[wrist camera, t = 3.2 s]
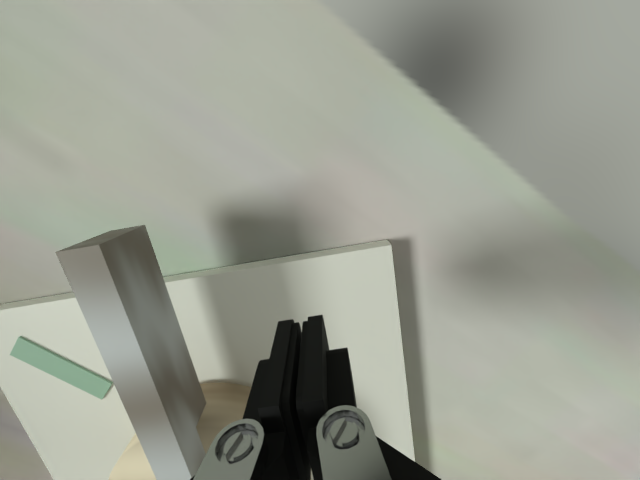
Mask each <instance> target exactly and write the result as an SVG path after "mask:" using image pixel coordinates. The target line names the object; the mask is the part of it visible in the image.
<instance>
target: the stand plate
mask: <svg viewBox="0 0 640 480" xmlns="http://www.w3.org/2000/svg"><path fill="white" fill-rule="evenodd" d="M163 279H164V282H165V285H166V288H167V290H168V293H169V296H170V299H171V302H172V305H173V308H174V311H175V314H176V317H177V319H178V322H179V325H180V328H181V331H182V334H183V337H184V340H185V343H186V345H187V348H188V351H189V354H190V357H191V360H192V363H193V366H194V369H195V371H196V374H197V377H198V380H199V383H200V384H205V383H232V384H240V385H244V386H248V387H252V383H253V380H254V376H255V373H256V369H257V366H258V363H259V361H260V360H264V359H269V358H270V354H271V349H272V345H273V341H274V337H275V333H276V328H277V324H278V321H284V320H290V319H293V320H294V323H296V322H299V323H300V327H301V332H302V325H303V321H308V317H310V316H317V315H323V319H324V324H325V329H326V335H327V340H328V345H329V350H333V349H340V348H348V353H349V359H350V365H351V371H352V377H353V384H354V391H355V398H356V405H357V408H359V409H361V410H362V411H363V412H364V413H365V414H367V416H368V418H369V420H370V422H371V424H372V427H373V430H374V433H375V435H376V436H377V437H378V438H380V439H381V440H383V441H384V442H386V443H387V444H389V445H390V446H392V447H393V448H395V449H396V450H398V451H399V452H401V453H402V454H404V455H405V456H407V457H408V458H410V459H411V460H413V461H414V462H415V456H414V447H413V438H412V428H411V419H410V410H409V401H408V392H407V383H406V374H405V364H404V355H403V346H402V337H401V328H400V319H399V310H398V300H397V291H396V282H395V273H394V264H393V255H392V246H391V244H390V243H389V241H388V240H382V241H376V242H370V243H364V244H358V245H352V246H346V247H340V248H334V249H328V250H322V251H316V252H310V253H304V254H298V255H292V256H286V257H280V258H274V259H268V260H262V261H256V262H250V263H244V264H238V265H232V266H226V267H220V268H214V269H208V270H202V271H196V272H190V273H184V274H178V275H172V276H166V277H163ZM0 387H1V389H2V391H3V393H4V394H5V396H6V398H7V400H8V401H9V403H10V405H11V407H12V408H13V410H14V412H15V413H16V415H17V417H18V419H19V420H20V422H21V424H22V426H23V427H24V429H25V431H26V433H27V434H28V436H29V438H30V439H31V441H32V443H33V445H34V446H35V448H36V450H37V452H38V453H39V455H40V457H41V459H42V460H43V462H44V464H45V465H46V467H47V469H48V471H49V472H50V474H51V476H52V478H53V479H54V480H108V479H109V476H110V474H111V471H112V470H113V468H114V466H115V464H116V463H117V461H118V460H119V458H120V456H121V455H122V453H123V452H124V450H125V449H126V447H127V445H128V444H129V442H130V441H131V439H132V438H133V436H134V434H135V433H136V432H135V430H134V428H133V426H132V423H131V421H130V419H129V417H128V414H127V412H126V410H125V408H124V405H123V403H122V401H121V399H120V396H119V394H118V392H117V390H116V387H115V385H114V383H113V381H112V378H111V376H110V374H109V372H108V369H107V367H106V365H105V363H104V360H103V358H102V356H101V354H100V351H99V349H98V347H97V345H96V342H95V340H94V338H93V335H92V333H91V331H90V329H89V326H88V324H87V322H86V320H85V317H84V315H83V313H82V311H81V308H80V306H79V304H78V302H77V299H76V297H75V295H74V293H73V292H71V293H65V294H59V295H53V296H47V297H41V298H35V299H29V300H23V301H17V302H11V303H5V304H0ZM311 480H314V478H313V474H312V470H311Z"/></svg>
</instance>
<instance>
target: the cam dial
mask: <svg viewBox="0 0 640 480" xmlns="http://www.w3.org/2000/svg"><path fill="white" fill-rule="evenodd" d="M56 254H57V257H58V259H59V261H60V263H61V266H62V268H63V270H64V272H65V275H66V277H67V279H68V281H69V284H70V286H71V288H72V290H73V293H74V295H75V297H76V299H77V302H78V304H79V306H80V308H81V311H82V313H83V315H84V317H85V320H86V322H87V324H88V326H89V329H90V331H91V333H92V335H93V338H94V340H95V342H96V345H97V347H98V349H99V351H100V354H101V356H102V358H103V360H104V363H105V365H106V367H107V369H108V372H109V374H110V376H111V378H112V381H113V383H114V385H115V387H116V390H117V392H118V394H119V396H120V399H121V401H122V403H123V405H124V408H125V410H126V412H127V414H128V417H129V419H130V421H131V423H132V426H133V428H134V430H135V432H136V433H135V434H134V436H133V438H132V439H131V441H130V442H129V444H128V445H127V447H126V449H125V450H124V452H123V453H122V455H121V456H120V458H119V460H118V461H117V463H116V464H115V466H114V468H113V470H112V471H111V474H110V476H109V479H108V480H190V479H191V478H192V477H193V476H195V475H196V473H197V471H198V469H199V467H200V465H201V463H202V461H203V459H204V457H205V455H206V453H207V451H208V449H209V447H210V445H211V443H212V441H213V440H214V438H215V437H216V435H217V434H218V433H219V432H220V431H221V430H222V429H223V428H224V427H226V426H227V425H229V424H230V423H232V422H235V421H237V420H241V419H242V418H243V415H244V411H245V408H246V404H247V401H248V397H249V394H250V390H251V387H248V386H244V385H240V384H232V383H205V384H200V383H199V380H198V377H197V374H196V371H195V369H194V366H193V363H192V360H191V357H190V354H189V351H188V348H187V345H186V343H185V340H184V337H183V334H182V331H181V328H180V325H179V322H178V319H177V317H176V314H175V311H174V308H173V305H172V302H171V299H170V296H169V293H168V290H167V288H166V285H165V282H164V279H163V276H162V273H161V270H160V267H159V264H158V262H157V259H156V256H155V253H154V250H153V247H152V244H151V241H150V238H149V236H148V233H147V230H146V227H145V225H141V226H135V227H130V228H124V229H118V230H112V231H109V232H106V233H104V234H101V235H99V236H96V237H93V238H91V239H88V240H86V241H83V242H81V243H78V244H75V245H73V246H70V247H68V248H65V249H63V250H60V251H58V252H56Z"/></svg>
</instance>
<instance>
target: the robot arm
mask: <svg viewBox="0 0 640 480" xmlns="http://www.w3.org/2000/svg"><path fill="white" fill-rule="evenodd" d="M311 470H312V474H313V478H314V480H441V479H440V478H438V477H437V476H435V475H434V474H432V473H431V472H429V471H428V470H426V469H425V468H423V467H422V466H420V465H419V464H417V463H416V462H414V461H413V460H411V459H410V458H408V457H407V456H405V455H404V454H402V453H401V452H399V451H398V450H396V449H395V448H393V447H392V446H390V445H389V444H387V443H386V442H384V441H383V440H381V439H380V438H378V437H377V436H376V435H375V433H374V430H373V427H372V424H371V422H370V420H369V418H368V416H367V414H365V413H364V412H363V411H362V410H361V409H359V408H357V405H356V398H355V391H354V384H353V377H352V371H351V365H350V359H349V353H348V348H340V349H333V350H329V345H328V340H327V335H326V329H325V324H324V319H323V315H317V316H310V317H308V321H303V325H302V332H301V327H300V323H299V322H296V323H294V320H293V319H290V320H284V321H278V324H277V328H276V333H275V337H274V341H273V345H272V349H271V354H270V358H269V359H264V360H260V361H259V363H258V366H257V369H256V373H255V376H254V380H253V383H252V387H251V390H250V394H249V397H248V401H247V404H246V408H245V411H244V415H243V418H242V419H241V420H237V421H235V422H232V423H230V424H229V425H227V426H226V427H224V428H223V429H222V430H221V431H220V432H219V433H218V434H217V435H216V437H215V438H214V440H213V441H212V443H211V445H210V447H209V449H208V451H207V453H206V455H205V457H204V459H203V461H202V463H201V465H200V467H199V469H198V471H197V473H196V475H195V476H193V477H192V478H191V479H190V480H311Z"/></svg>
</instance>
